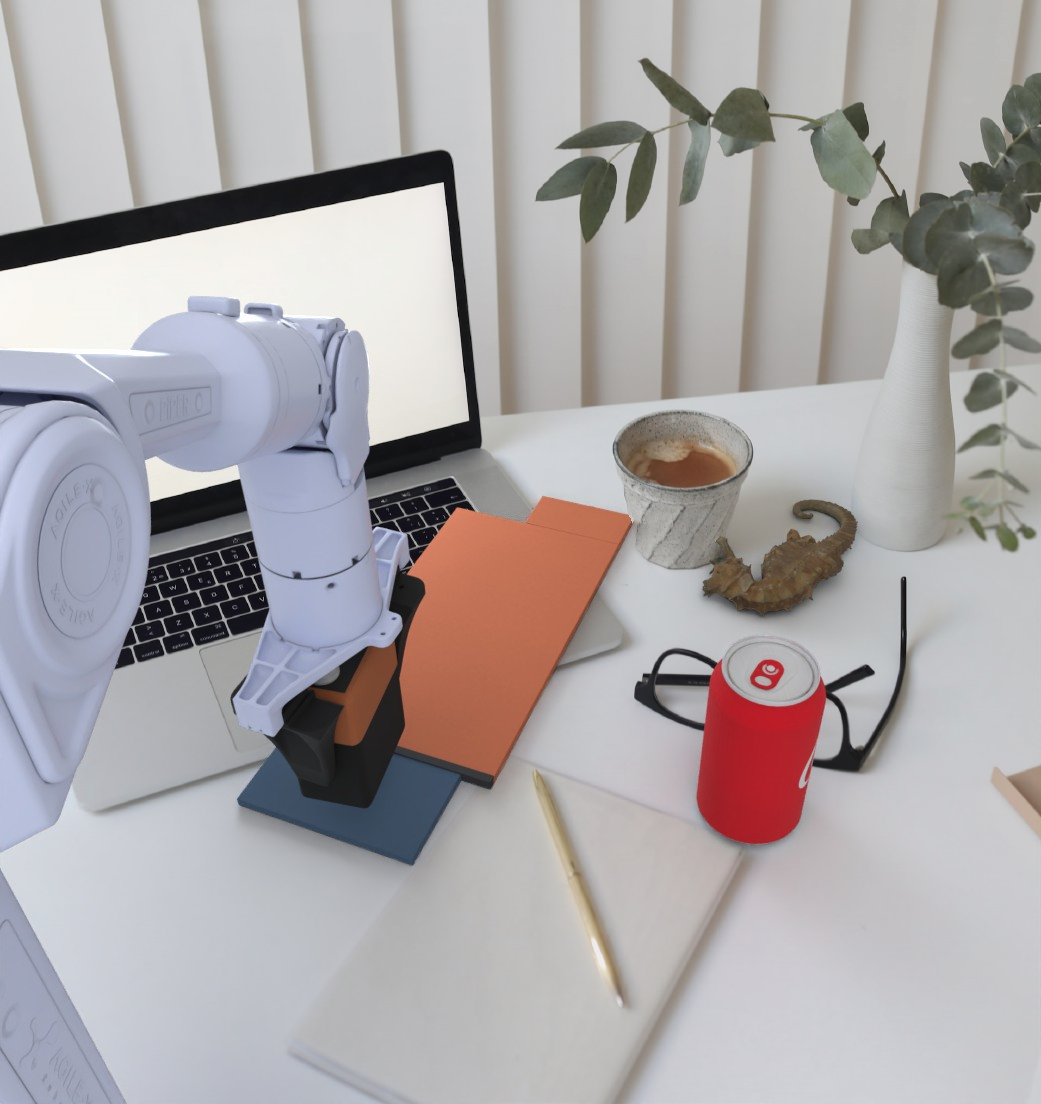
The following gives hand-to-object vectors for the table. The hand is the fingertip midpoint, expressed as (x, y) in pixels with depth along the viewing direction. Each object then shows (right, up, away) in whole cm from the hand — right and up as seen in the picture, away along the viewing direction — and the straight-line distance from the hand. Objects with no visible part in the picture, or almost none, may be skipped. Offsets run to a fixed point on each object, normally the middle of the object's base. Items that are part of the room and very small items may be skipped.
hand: (348, 728), depth 61 cm
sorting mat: (+6, +4, +15) cm, 16 cm away
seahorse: (+30, +9, +21) cm, 38 cm away
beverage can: (+24, -6, +3) cm, 24 cm away
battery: (0, -2, +2) cm, 3 cm away
